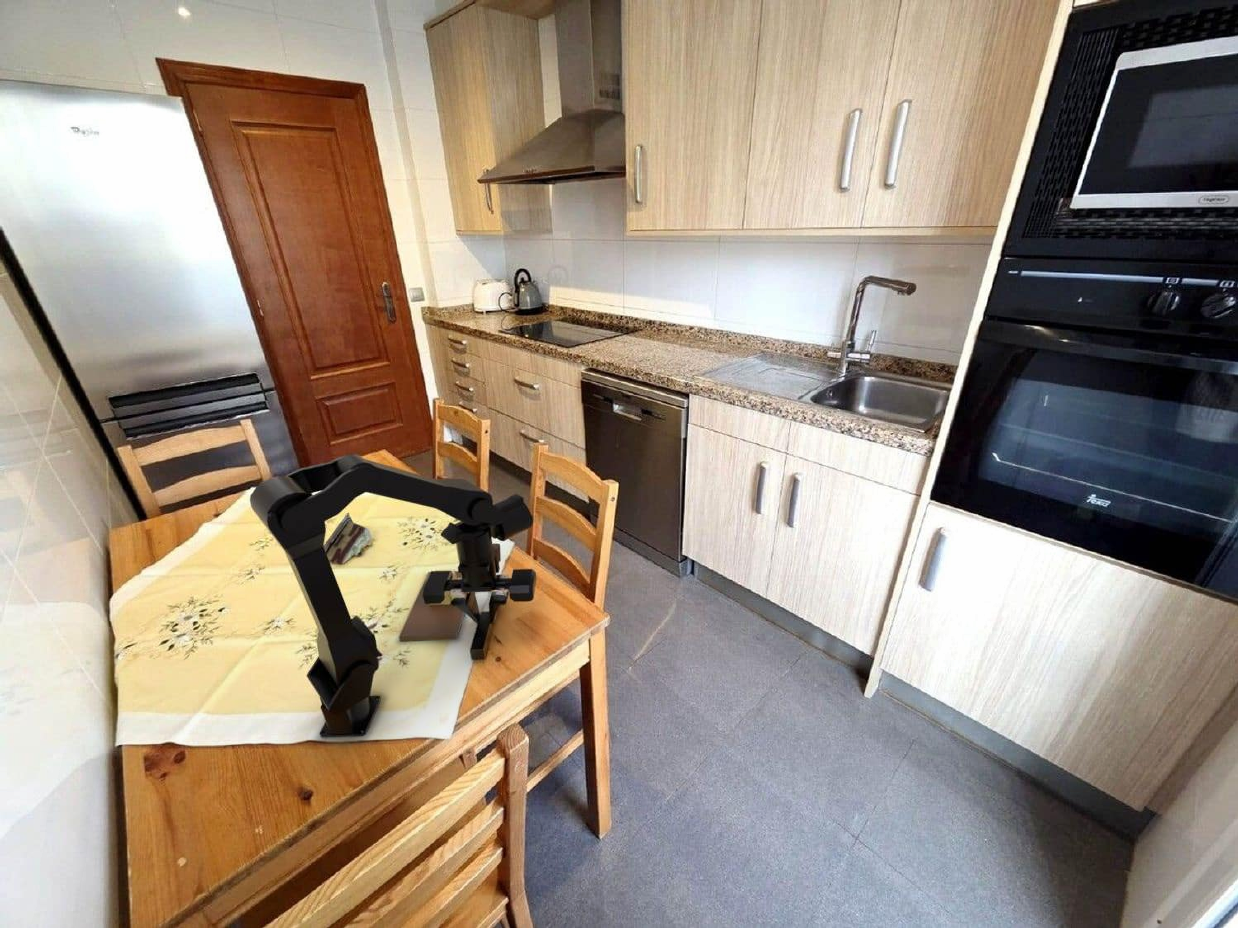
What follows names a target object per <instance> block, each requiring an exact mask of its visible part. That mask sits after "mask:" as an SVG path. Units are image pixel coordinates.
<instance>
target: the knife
mask: <svg viewBox="0 0 1238 928" xmlns="http://www.w3.org/2000/svg"><path fill="white" fill-rule="evenodd" d="M490 597H491V592H488V594H487V598H486V601H485V604H484V608H483V611H479V612H480V616H479V620H478V623H477V624H476V626H475V629H474V634H473V638H472V641H471V645H470V648H469V653H470V658H471V661H484V660H486V655H487V651H488V649H489V648H488V647H489V644H490V639H491V635H492V631H493V627H494V623H493V624H491V621H490V615H489V601H490ZM497 614H498V612H497V613H496V616H495V620H494V622H495V621H496V619H497Z"/></svg>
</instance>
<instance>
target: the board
mask: <svg viewBox="0 0 1238 928" xmlns="http://www.w3.org/2000/svg"><path fill="white" fill-rule="evenodd" d="M430 572H431V571H428V572H427V574H426V577H425V579H424V581H423V583H422V585H421V587H420V590H419V592H418V594H417V596H416V599H415V600H414V603H413V605H412V607H411V609H410V611H409V613H408V616H407V618H406V620H405V622H404V625H403V627H402V628H401V631H400V633H399V636H398V640H399V642H409V641H411V642H413V641H415V642H416V641H443V640H444V641H445V640H446V641H447V640H448V641H449V640H458V635H459V632H460V630H461V627H462V623H463V620H464V617H465V615H466V613H465V612H463V611H462V610H460V609H459V608H458V607H456V606H451V603H450V604H439V605H429V604H424V603H423V602H422V597H421V589H422V587H423V585H424V583H425V580H426V578H427V576H428V574H429V573H430ZM455 572H456V577H457V578H462V577H461V573H458V570H455Z"/></svg>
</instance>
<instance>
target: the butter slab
mask: <svg viewBox="0 0 1238 928" xmlns="http://www.w3.org/2000/svg"><path fill="white" fill-rule="evenodd" d="M434 571H453V578H452V579H454V577H455V575H456V572H455V571H456V569H455V568H452V569H449V568H448V569H434ZM448 593H449V591H445V593H444V594H448Z"/></svg>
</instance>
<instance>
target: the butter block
mask: <svg viewBox="0 0 1238 928" xmlns="http://www.w3.org/2000/svg"><path fill="white" fill-rule="evenodd" d="M454 579H457V577H456V575H455V577H454ZM451 600H452V597H451V595H450V591H449V593H448V594H445V599H444V601H443V602H441V603H440V604H450V603H451ZM429 605H439V604H429Z"/></svg>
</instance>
